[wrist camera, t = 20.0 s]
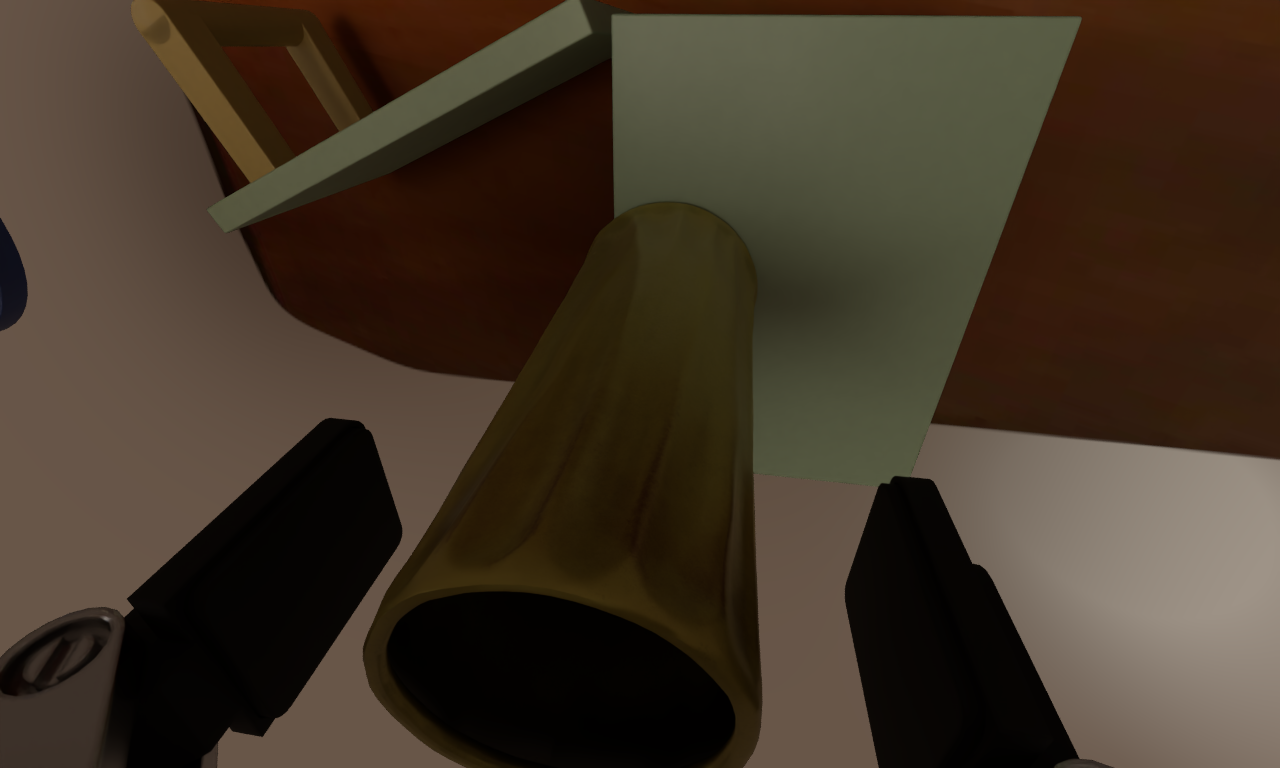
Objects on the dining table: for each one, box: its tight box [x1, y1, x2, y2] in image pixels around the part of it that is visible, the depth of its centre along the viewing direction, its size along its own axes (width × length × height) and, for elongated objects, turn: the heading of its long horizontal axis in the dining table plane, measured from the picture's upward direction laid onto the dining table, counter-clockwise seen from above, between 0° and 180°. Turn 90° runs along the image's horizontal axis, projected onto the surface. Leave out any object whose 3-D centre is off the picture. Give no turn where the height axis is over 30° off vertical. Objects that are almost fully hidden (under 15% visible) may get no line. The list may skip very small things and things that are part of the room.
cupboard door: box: [131, 0, 634, 233], centre depth 21 cm, size 7×16×12 cm, turn 113°
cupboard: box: [611, 14, 1082, 487], centre depth 23 cm, size 12×16×12 cm
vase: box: [363, 202, 762, 768], centre depth 13 cm, size 6×6×14 cm
